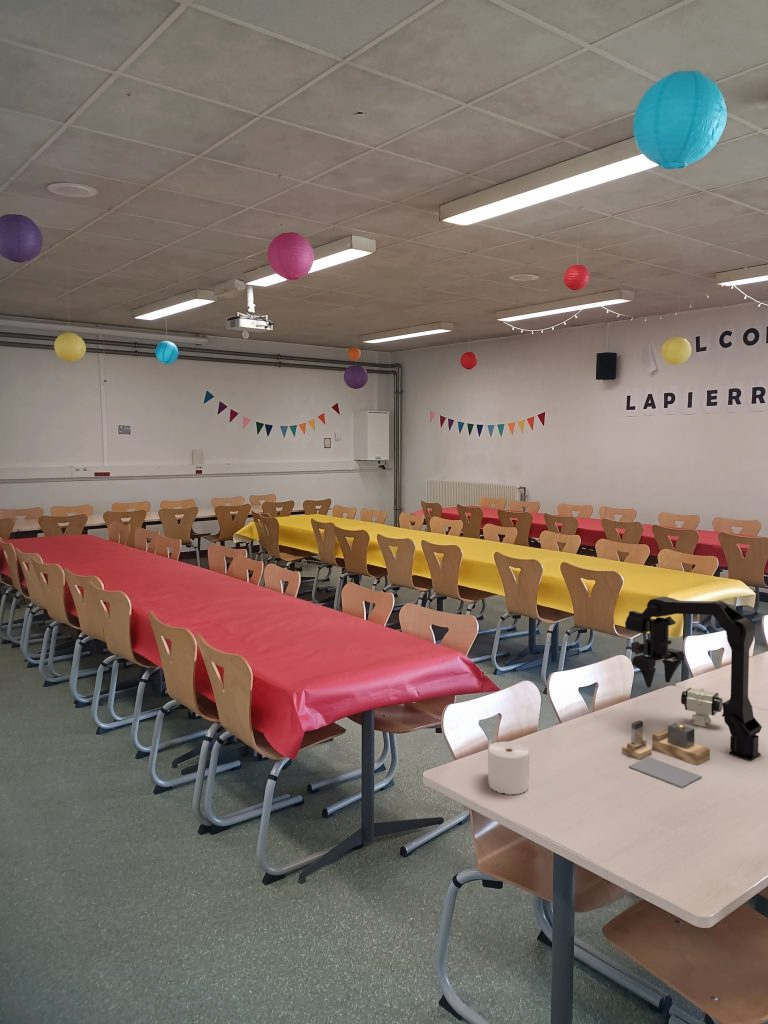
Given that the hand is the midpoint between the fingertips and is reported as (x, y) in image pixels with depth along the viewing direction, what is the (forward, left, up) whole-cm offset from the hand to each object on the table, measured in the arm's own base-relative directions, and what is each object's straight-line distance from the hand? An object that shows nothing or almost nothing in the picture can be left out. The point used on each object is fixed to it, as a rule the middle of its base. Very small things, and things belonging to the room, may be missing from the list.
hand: (657, 684), depth 230 cm
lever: (-7, +22, -12) cm, 26 cm away
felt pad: (-19, +27, -14) cm, 36 cm away
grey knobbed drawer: (-15, +12, -11) cm, 23 cm away
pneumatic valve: (-7, -14, -15) cm, 21 cm away
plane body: (-15, +12, -14) cm, 24 cm away
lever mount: (-7, +22, -14) cm, 28 cm away
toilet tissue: (+3, +67, -15) cm, 69 cm away
